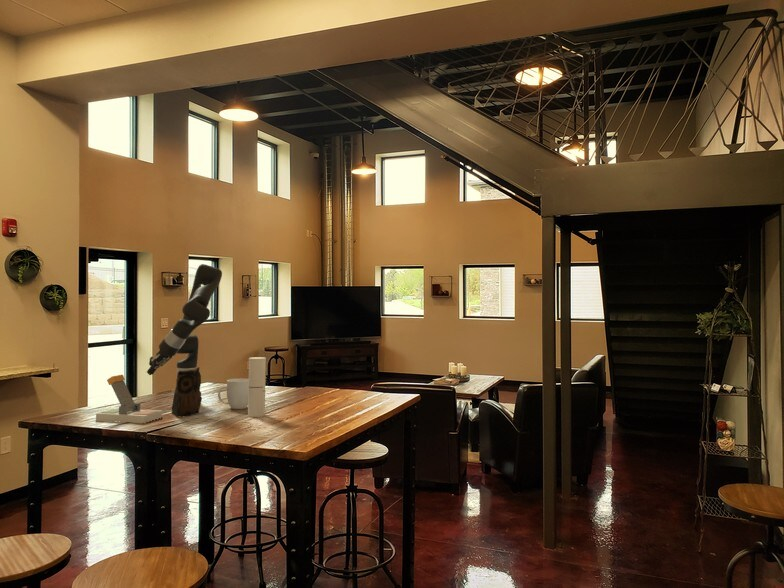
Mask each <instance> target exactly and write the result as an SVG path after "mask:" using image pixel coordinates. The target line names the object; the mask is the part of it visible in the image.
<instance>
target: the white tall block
mask: <svg viewBox="0 0 784 588" xmlns="http://www.w3.org/2000/svg"><path fill="white" fill-rule="evenodd" d="M266 367H267V357H264V356H263V357H261V356H259V357H255V356H254V357H253V356H252V357H249V358H248V379H249V388H248V405H247V416H248V417H251V418H260V417H264V416H266V413H265V412H266V372H267V371H266V370H267V369H266Z"/></svg>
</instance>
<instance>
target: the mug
mask: <svg viewBox="0 0 784 588" xmlns="http://www.w3.org/2000/svg"><path fill="white" fill-rule="evenodd" d="M248 388H249V378H229V379H227V380H226V385H223V386H221V387H220V388H219V390H218V393H217V397H218V398H217V399H219V402H221V403H222V404H225V405H229V407H230V409H232V410H244V409H246V408H248ZM223 389H226V398H227V401H224V400H223V399H222V397H221V392H222V390H223Z"/></svg>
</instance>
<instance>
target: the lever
mask: <svg viewBox="0 0 784 588" xmlns="http://www.w3.org/2000/svg"><path fill="white" fill-rule="evenodd" d="M125 380H126V379H125V376H124V374H118V375H113V376H111V377H108V379H106V381H107V383H108V385H109V386H111V388H112V390H113V392H114V393H115V396H116V398H117V400H118V403H119V404H120V406H128V407H127V412H130V411H133V410H136V409H137V405H135V403H136V402H135V401H134V399H133V397H132V394H131V392H130V391H129V388H128V386H127V384H126V383H125Z"/></svg>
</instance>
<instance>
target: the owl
mask: <svg viewBox="0 0 784 588" xmlns="http://www.w3.org/2000/svg"><path fill="white" fill-rule="evenodd" d="M175 382H176V383H175V388H174V393H173V398H172V405H171V414H173V415H175V416H176V417H178V416H181V417H182V418H183V416H184V417H190V416H192V415H193V416H194V415H197V414H199V413H200V409H201V408H200V407H201V404H202V400H203V399H202V392H201V385H202V374H201V372H200V367H198V366H197V368H194V369H187V370H183V371H179V372H178V374H177V373H176V381H175Z"/></svg>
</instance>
